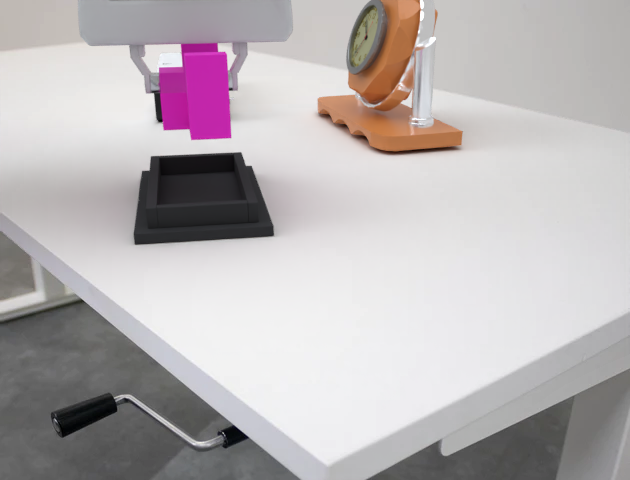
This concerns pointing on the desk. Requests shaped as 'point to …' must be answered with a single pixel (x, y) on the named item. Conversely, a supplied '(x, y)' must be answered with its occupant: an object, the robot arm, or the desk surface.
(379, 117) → the desk clock
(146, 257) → the desk surface
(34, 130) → the desk surface
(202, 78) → the toy block
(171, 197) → the socket pad
